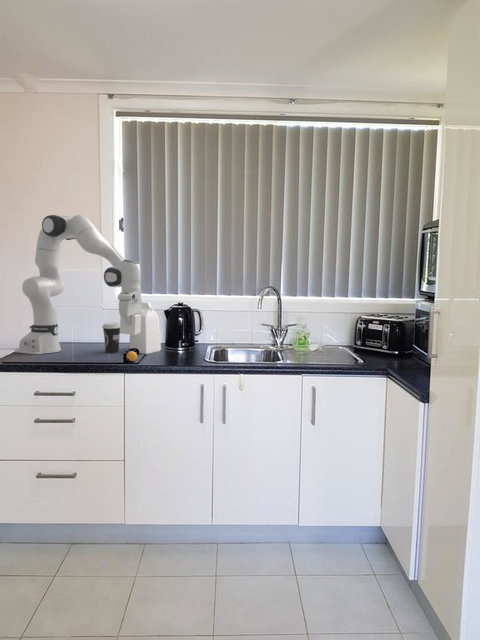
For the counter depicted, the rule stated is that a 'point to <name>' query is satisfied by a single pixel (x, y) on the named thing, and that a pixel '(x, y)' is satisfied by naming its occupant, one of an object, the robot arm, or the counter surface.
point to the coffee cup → (111, 336)
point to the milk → (147, 332)
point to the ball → (132, 356)
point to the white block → (131, 325)
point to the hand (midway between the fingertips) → (131, 324)
